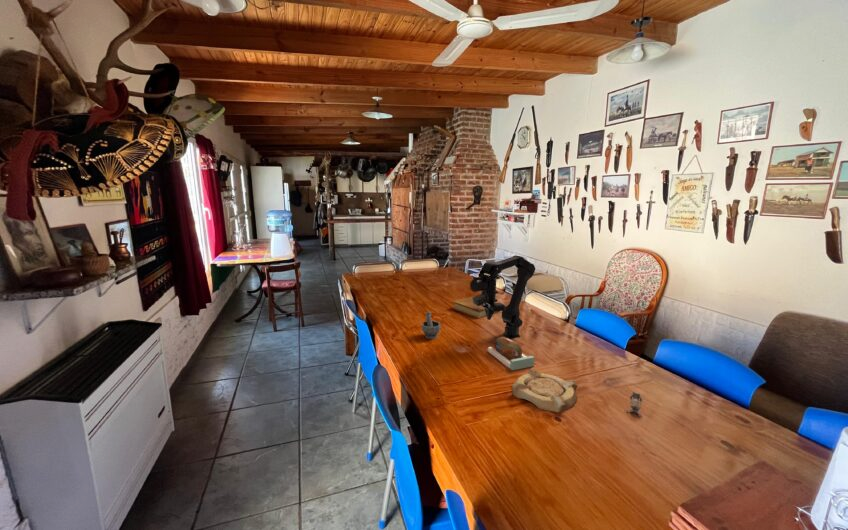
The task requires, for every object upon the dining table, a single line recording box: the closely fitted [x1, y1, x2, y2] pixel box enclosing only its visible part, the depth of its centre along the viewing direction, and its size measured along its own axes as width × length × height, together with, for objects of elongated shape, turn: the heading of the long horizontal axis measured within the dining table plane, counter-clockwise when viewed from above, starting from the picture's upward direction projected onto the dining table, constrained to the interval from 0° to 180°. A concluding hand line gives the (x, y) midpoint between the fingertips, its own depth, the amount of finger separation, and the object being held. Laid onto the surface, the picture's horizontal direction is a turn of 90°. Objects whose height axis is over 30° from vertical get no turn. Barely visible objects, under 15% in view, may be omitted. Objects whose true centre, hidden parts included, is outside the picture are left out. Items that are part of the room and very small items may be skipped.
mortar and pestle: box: [421, 311, 442, 340], centre depth 178 cm, size 11×9×12 cm
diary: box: [452, 296, 501, 320], centre depth 219 cm, size 23×19×6 cm
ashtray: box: [511, 368, 579, 413], centre depth 127 cm, size 24×24×5 cm
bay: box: [487, 346, 535, 371], centre depth 154 cm, size 11×20×4 cm, turn 20°
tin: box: [494, 336, 523, 361], centre depth 155 cm, size 15×3×8 cm, turn 30°
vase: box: [624, 391, 643, 418], centre depth 116 cm, size 5×5×6 cm
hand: (488, 319), depth 169 cm, fingers closed
